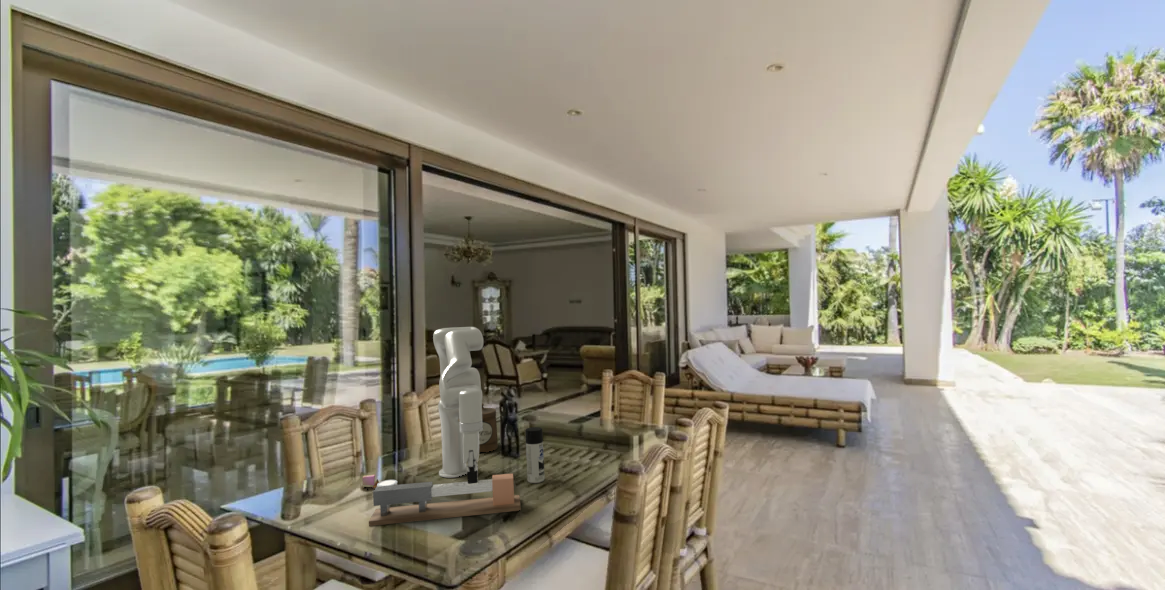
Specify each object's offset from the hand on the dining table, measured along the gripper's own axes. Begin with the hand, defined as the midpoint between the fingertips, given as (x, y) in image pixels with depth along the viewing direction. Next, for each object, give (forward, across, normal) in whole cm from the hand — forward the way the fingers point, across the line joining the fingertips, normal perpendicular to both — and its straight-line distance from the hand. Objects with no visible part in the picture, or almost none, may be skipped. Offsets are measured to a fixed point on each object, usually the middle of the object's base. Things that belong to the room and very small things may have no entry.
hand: (473, 480), depth 174 cm
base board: (+10, 0, -9) cm, 13 cm away
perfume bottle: (+10, -33, -39) cm, 52 cm away
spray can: (+10, -22, +22) cm, 33 cm away
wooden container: (+10, -72, 0) cm, 73 cm away
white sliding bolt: (+4, 0, -6) cm, 7 cm away
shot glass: (+10, -14, -31) cm, 35 cm away
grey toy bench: (+8, 0, -23) cm, 24 cm away
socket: (+8, 0, +10) cm, 13 cm away
